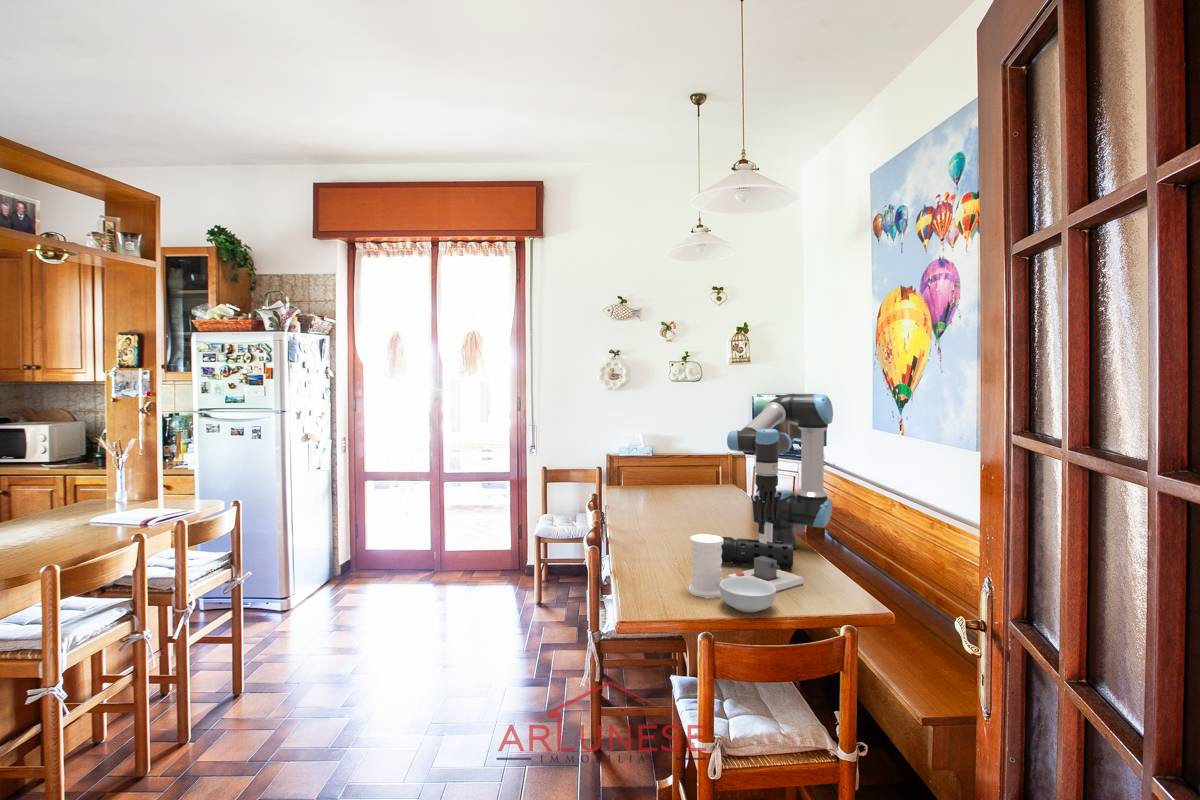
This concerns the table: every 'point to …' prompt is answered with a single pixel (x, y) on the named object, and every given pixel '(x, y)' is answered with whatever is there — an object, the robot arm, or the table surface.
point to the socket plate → (781, 581)
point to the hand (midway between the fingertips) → (765, 542)
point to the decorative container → (706, 565)
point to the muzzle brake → (756, 551)
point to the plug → (765, 568)
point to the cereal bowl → (747, 593)
